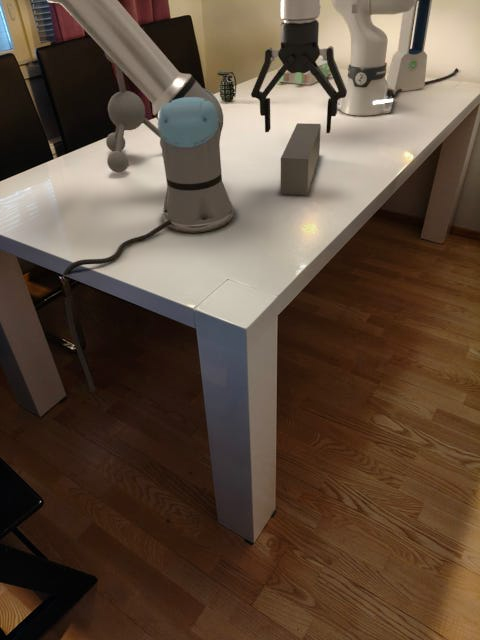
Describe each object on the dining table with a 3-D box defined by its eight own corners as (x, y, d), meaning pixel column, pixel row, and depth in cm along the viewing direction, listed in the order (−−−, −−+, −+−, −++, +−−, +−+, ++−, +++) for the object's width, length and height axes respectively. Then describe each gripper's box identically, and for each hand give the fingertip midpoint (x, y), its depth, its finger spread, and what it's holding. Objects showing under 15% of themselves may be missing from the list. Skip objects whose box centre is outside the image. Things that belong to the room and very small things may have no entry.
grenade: (217, 103, 183) (215, 73, 177) (221, 99, 187) (219, 70, 181) (234, 103, 181) (233, 73, 175) (238, 99, 186) (236, 70, 180)
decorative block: (300, 55, 216) (341, 58, 206) (299, 71, 220) (340, 74, 210) (268, 66, 200) (311, 70, 190) (268, 83, 204) (310, 87, 194)
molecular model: (192, 164, 133) (178, 39, 115) (111, 178, 128) (83, 49, 109) (169, 139, 151) (154, 28, 132) (98, 152, 145) (72, 36, 127)
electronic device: (394, 92, 183) (407, -4, 164) (384, 88, 188) (396, -5, 170) (424, 88, 185) (440, -6, 166) (413, 84, 191) (428, -8, 172)
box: (307, 195, 114) (308, 159, 108) (280, 194, 115) (280, 158, 110) (319, 156, 134) (320, 123, 128) (296, 155, 135) (297, 123, 130)
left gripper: (365, 15, 96) (355, 126, 109) (242, 19, 101) (247, 125, 114) (364, 21, 90) (353, 137, 103) (233, 25, 96) (239, 135, 109)
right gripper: (385, -59, 115) (377, 10, 124) (299, -54, 119) (297, 13, 128) (385, -58, 110) (377, 13, 119) (295, -53, 115) (294, 16, 123)
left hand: (297, 131), depth 109 cm, fingers open, 13 cm apart
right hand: (335, 13), depth 123 cm, fingers open, 8 cm apart
